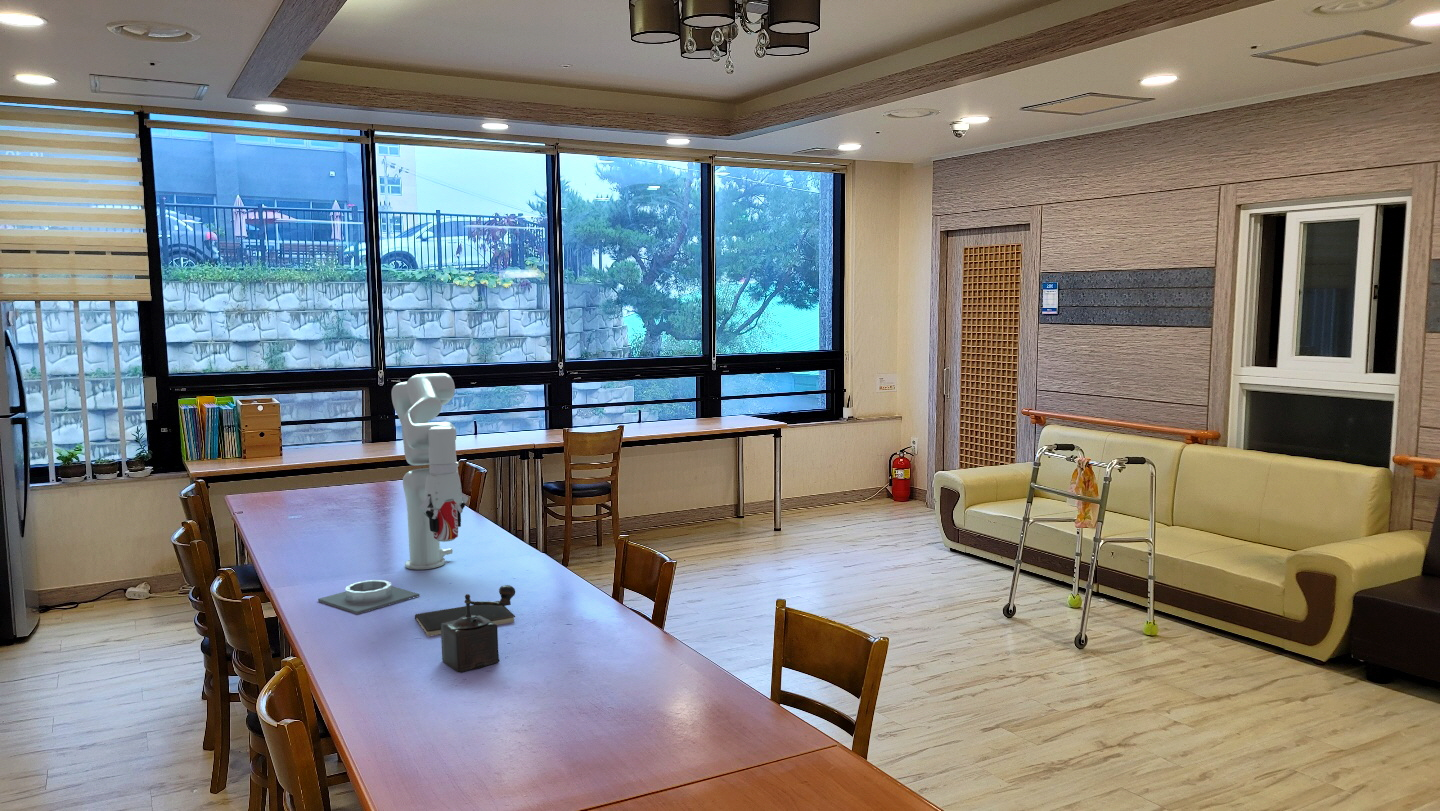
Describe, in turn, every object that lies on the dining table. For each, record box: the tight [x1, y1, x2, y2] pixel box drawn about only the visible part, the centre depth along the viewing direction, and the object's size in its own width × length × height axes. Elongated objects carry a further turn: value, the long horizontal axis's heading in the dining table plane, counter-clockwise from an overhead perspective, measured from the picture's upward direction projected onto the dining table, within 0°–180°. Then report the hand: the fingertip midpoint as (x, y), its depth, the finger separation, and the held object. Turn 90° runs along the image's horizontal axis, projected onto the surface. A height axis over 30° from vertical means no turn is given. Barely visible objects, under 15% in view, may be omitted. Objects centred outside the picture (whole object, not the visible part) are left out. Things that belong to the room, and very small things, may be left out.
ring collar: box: [345, 579, 392, 603], centre depth 289 cm, size 12×12×3 cm
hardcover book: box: [414, 600, 516, 637], centre depth 268 cm, size 16×23×2 cm
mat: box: [318, 585, 420, 615], centre depth 289 cm, size 20×20×1 cm
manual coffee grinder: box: [440, 584, 516, 674], centre depth 238 cm, size 16×11×18 cm
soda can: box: [433, 499, 459, 543], centre depth 289 cm, size 7×7×12 cm
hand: (445, 528), depth 290 cm, fingers closed on soda can, 7 cm apart
